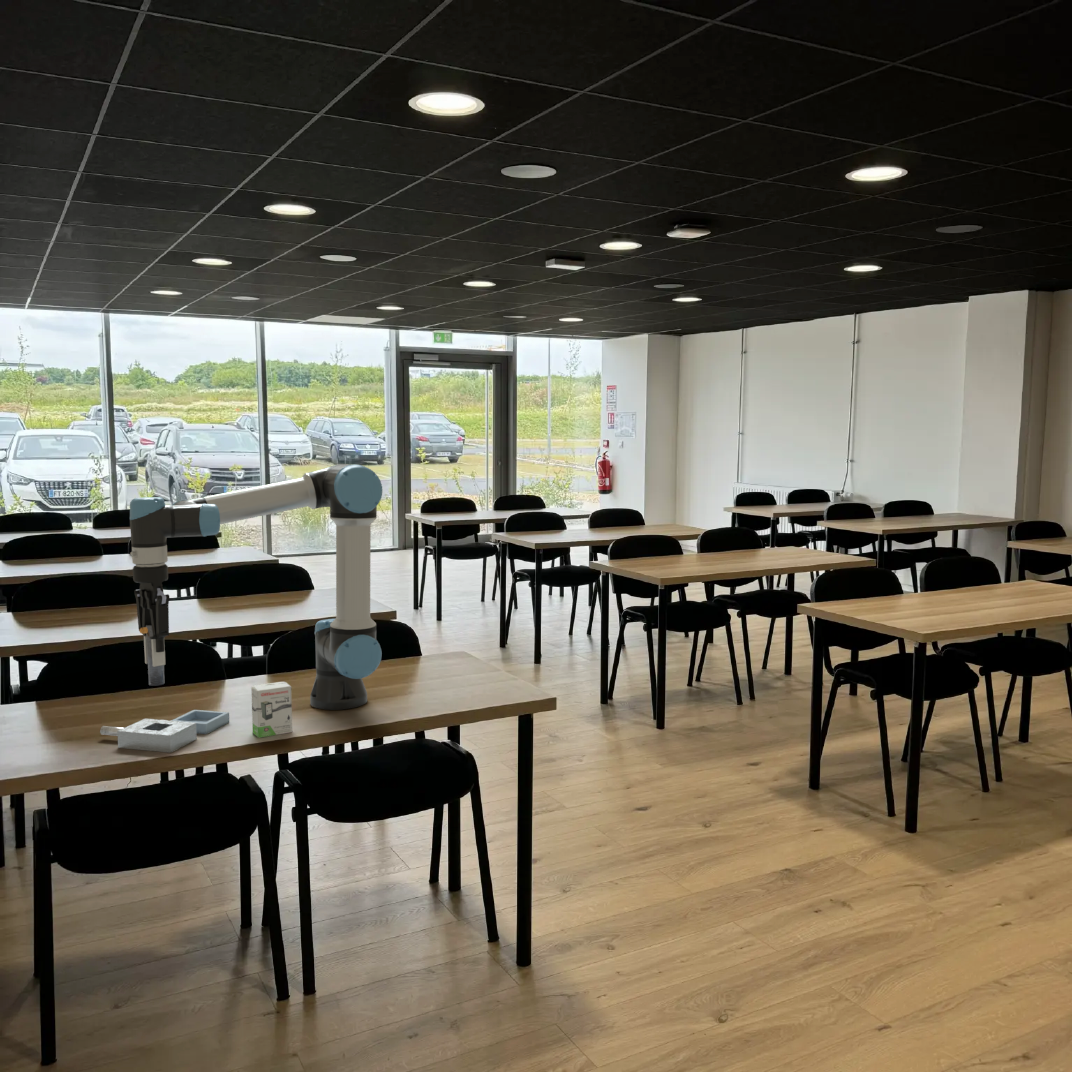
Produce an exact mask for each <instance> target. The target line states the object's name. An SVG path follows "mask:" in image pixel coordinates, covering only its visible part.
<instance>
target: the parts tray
mask: <svg viewBox="0 0 1072 1072" xmlns="http://www.w3.org/2000/svg"><path fill="white" fill-rule="evenodd" d="M170 721H180V722H192V723H196V733H197V734H203V735H208V734H210V733H211V732H213V731H215V730H217V729H219V728H221V727H223V726H224V725H227V724H228V723H230V712H229V711H228V712H227V711H215V710H202V709H201V710H200V709H193V710H190V711H188V712H186V713H184V714H182V715H180V716H178V717H176V718H173V719H171V720H170Z"/></svg>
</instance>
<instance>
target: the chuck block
mask: <svg viewBox="0 0 1072 1072" xmlns="http://www.w3.org/2000/svg"><path fill="white" fill-rule="evenodd" d="M99 733H100V735H102V736H103V735H104V736H116V737H117V748H118V749H127V750H129V749H130V750H138V751H151V752H160V753H169V754H171V753H173V752H175V751H176V750H178V749H180V748H183V747H184V746H187V745H188V744H190V743H192V742H194V741H196V740H197V738H198V736H197V734H198V733H196V723H192V722H180V721H171V720H167V719H154V718H143V719H141V720H138V721H137V722H134V723H132V724H130V725H128V726H125V727H119V726H106V725H102V726H101V727H100V730H99Z"/></svg>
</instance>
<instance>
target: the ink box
mask: <svg viewBox="0 0 1072 1072" xmlns="http://www.w3.org/2000/svg"><path fill="white" fill-rule="evenodd" d="M250 689H251V717H252V718H251V722H252V734H254V735H255V736H256V737H257V738H260V739H261V738H264V737H265V738H266V737H271V736H278V735H282V734H289V733H292V732H293V712H292V711H293V710H292V709H293V707H292V706H293V705H292V686H291V685H290V684H289V683H288V682H286V681H277V682H271V683H270V682H269V683H263V684H255V685H253V686H251V687H250Z"/></svg>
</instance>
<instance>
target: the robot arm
mask: <svg viewBox="0 0 1072 1072" xmlns="http://www.w3.org/2000/svg"><path fill="white" fill-rule="evenodd" d="M382 497H383V484H382V481H381V479H380V478H379V476H378V475H377V473H375V472H374V471H373V470H372V469H371V468H369V467H367V466H365V465H361V464H356V463H355V464H349V463H337V464H334V465H330V466H327V467H325V468H322V469H317V470H314V471H309V472H305V473H304V474H303V475H302V477H299V478H294V479H289V480H284V481H283V480H282V481H280V482H273V483H269V484H264V485H259V486H253V487H248V488H243V489H238V490H234V491H233V490H232V491H229V492H224V493H217V494H214V495H213V494H212V495H208V496H204V497H197V498H193V499H180V500H177V501H175V502H173V503H172V504H170V505H169V504H168V505H167V504H166V503H165V499H164V498H163V497H159V496H158V497H157V496H151V497H149V496H148V497H135V498H133V499H131V501H130V503H129V528H130V540H131V541H130V542H131V552H129V553H130V556H131V558H132V564H134V566H133V567H132V579H133V582H134V583H137V584H139V589H135V590H134V596H135V600H136V601H135V602H136V610H137V611H136V615H137V624H138V631H139V630H140V628H143V627H146V625H148V624H152V631H153V637H150V639H151V643H152V662H153V666H154V667H155V666H161V665H164V666H165V665H166V650H165V647H166V645H165V638H166V637H167V636H169V635H170V619H169V615H170V613H169V610H170V609H169V608H170V607H169V604H170V595H169V594H168V593H167V594H165V593H164V588H163V582H166V581H168V580H169V569H168V568H169V566H168V565H167V563H168V561H169V560H168V545H167V538H184V537H185V538H186V537H188V538H189V537H207V536H216V535H218V534H219V532H220V529H221V525H224V524H228V523H235V522H238V521H239V522H240V521H243V520H248V519H253V518H257V517H262V516H263V517H264V516H267V515H273V514H277V513H282V512H288V511H293V510H298V509H301V508H305V507H307V508H308V507H309V508H310V509H312V510H315V509H320V508H329V519H331V521H332V522H333V523H334V524H335V531H336V532H335V537H336V538H335V545H336V546H335V549H336V550H335V556H336V558H335V563H336V564H335V576H336V579H335V580H336V581H335V582H336V583H335V584H336V585H335V588H336V589H335V591H336V592H335V595H336V596H335V602H336V603H335V606H336V608H335V611H336V613H335V614H336V615H335V616H336V617H335V618H328V619H321V620H319V621H317V622H316V624H315V627H314V637H315V639H314V641H315V642H314V644H315V670H316V672H315V674H316V675H315V678H314V682H313V685H312V689H311V693H310V697H309V698H310V701H309V703H310V706H311V707H313V708H315V709H318V710H319V709H320V710H325V711H326V710H327V711H328V710H329V711H339V710H350V709H354V708H358V707H361V706H364V705H365V704H367V702H368V692H367V689H366V686H365V683H364V680H363V679H364V678H367V677H369V676H371V675H372V674H373V673H374V672H375V671H376V670H377V669H378V668H379V666H380V664H381V661H382V654H383V653H382V648H381V645H380V643H379V641H378V640H377V622H375V621H374V619H372V617H371V529H372V528H371V525H372V524H373V523H374V522H375V521H376V520H377V518H378V517H377V516H378V515H377V511H378V510H377V509H378V508H377V507H378V505H379V504H380V502H381V499H382ZM142 635H143V646H144V647H143V648H144V649H143V650H144V663H145V664H146V665H148V657H147V639H146V633H144V634H142Z"/></svg>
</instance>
